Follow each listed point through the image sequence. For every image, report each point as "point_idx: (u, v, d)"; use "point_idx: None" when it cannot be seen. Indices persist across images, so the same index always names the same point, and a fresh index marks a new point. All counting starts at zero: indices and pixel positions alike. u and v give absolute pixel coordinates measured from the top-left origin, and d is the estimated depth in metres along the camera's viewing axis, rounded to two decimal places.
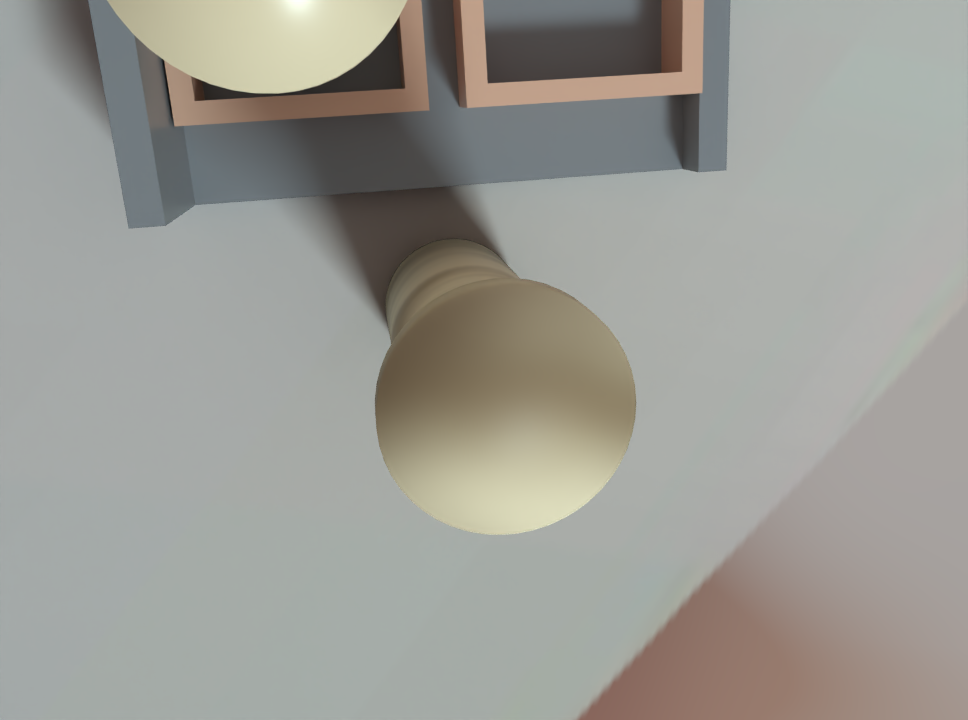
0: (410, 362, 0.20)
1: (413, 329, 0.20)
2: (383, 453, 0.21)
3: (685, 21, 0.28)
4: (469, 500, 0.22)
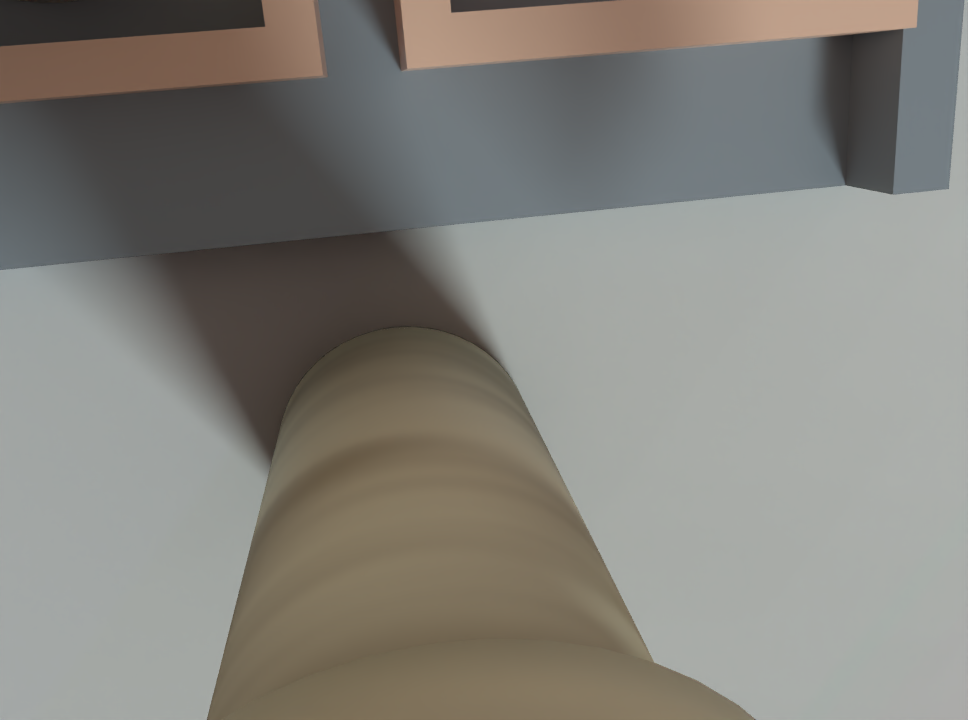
0: None
1: None
2: None
3: None
4: None
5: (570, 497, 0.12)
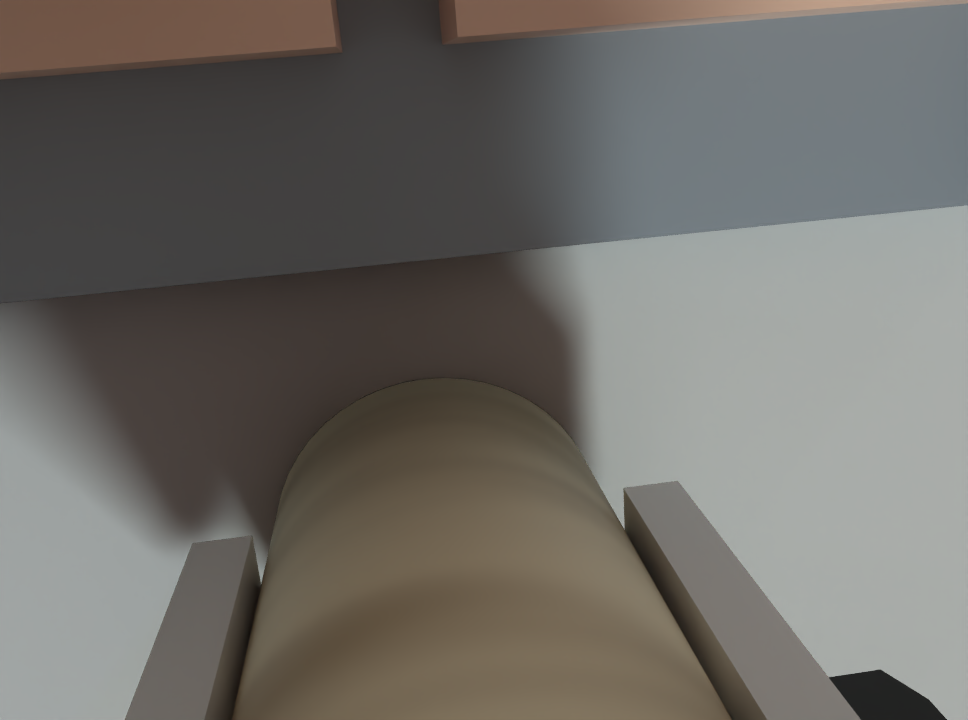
0: None
1: None
2: None
3: None
4: None
5: (692, 650, 0.09)
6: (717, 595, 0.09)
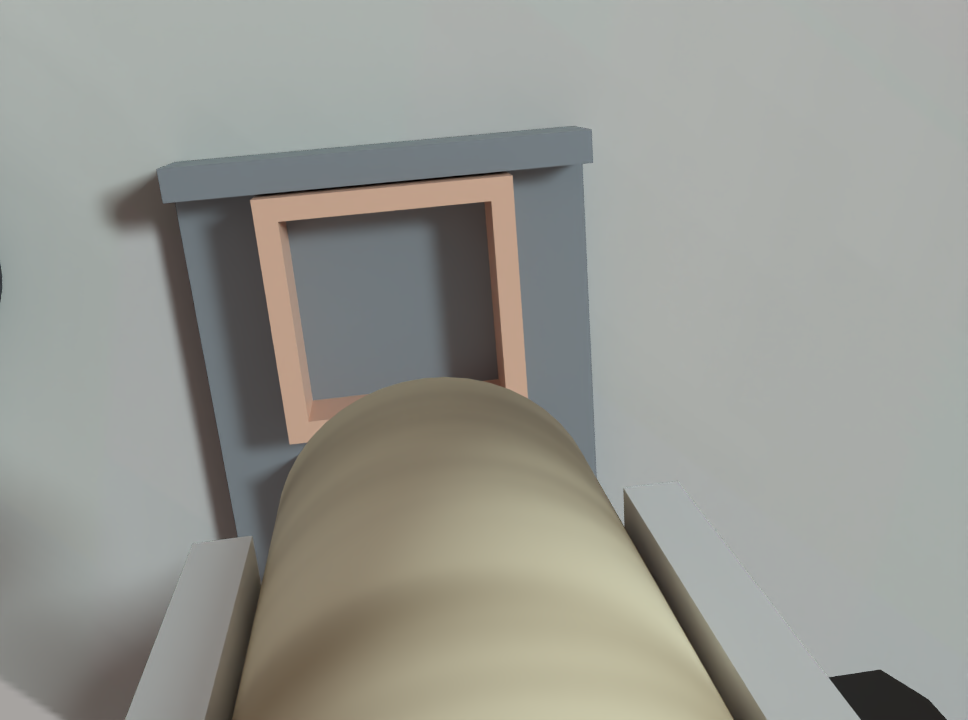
0: None
1: None
2: None
3: (440, 201, 0.26)
4: None
5: (693, 649, 0.09)
6: (717, 595, 0.09)
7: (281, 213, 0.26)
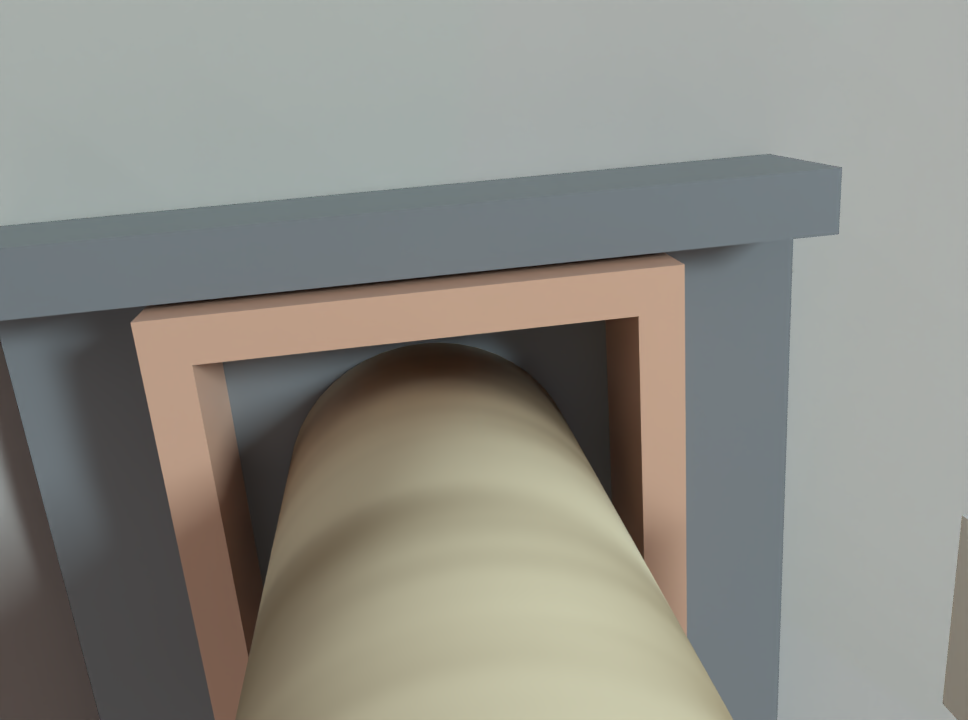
0: None
1: None
2: None
3: (534, 318, 0.13)
4: None
5: (642, 558, 0.10)
6: None
7: (199, 348, 0.12)
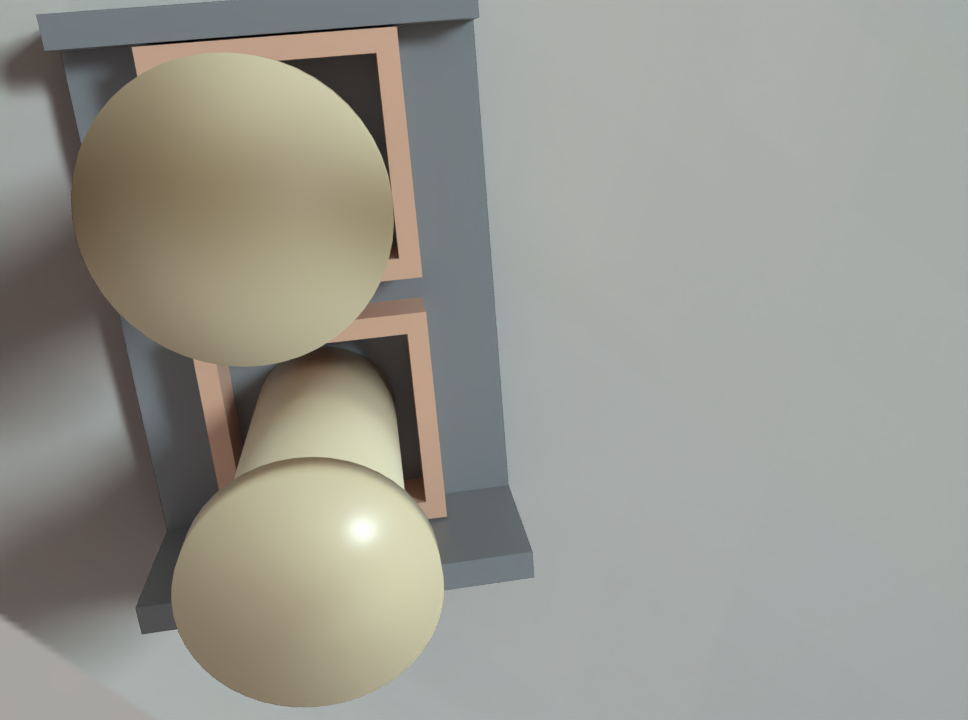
0: (104, 151, 0.17)
1: (101, 109, 0.17)
2: (88, 266, 0.18)
3: (325, 52, 0.27)
4: (202, 324, 0.18)
5: None
6: None
7: (164, 61, 0.26)
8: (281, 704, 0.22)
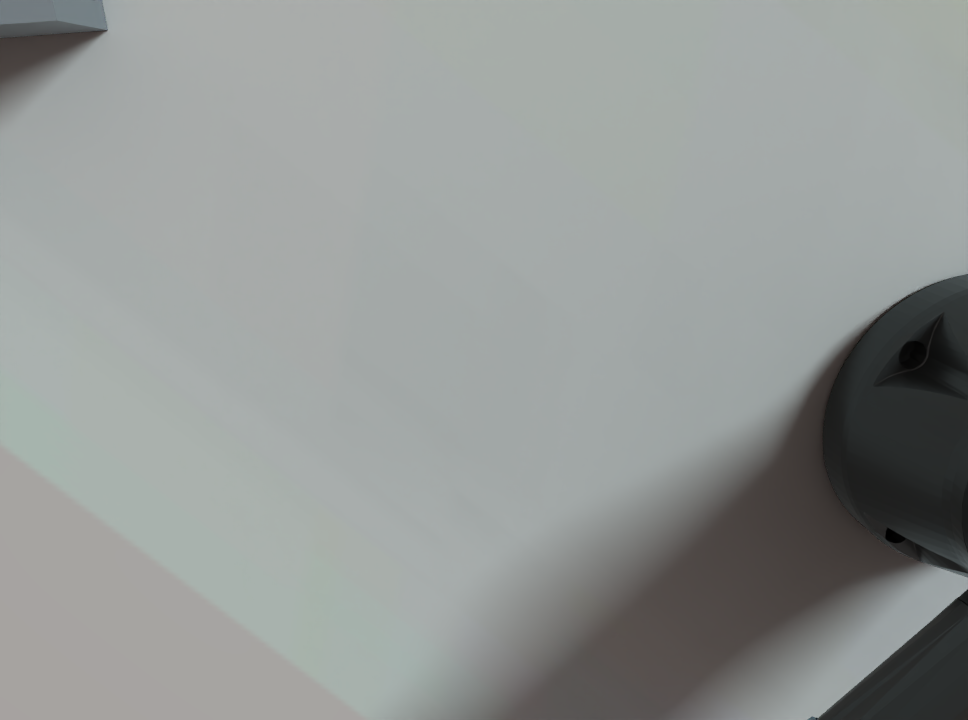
0: None
1: None
2: None
3: None
4: None
5: None
6: None
7: None
8: None
